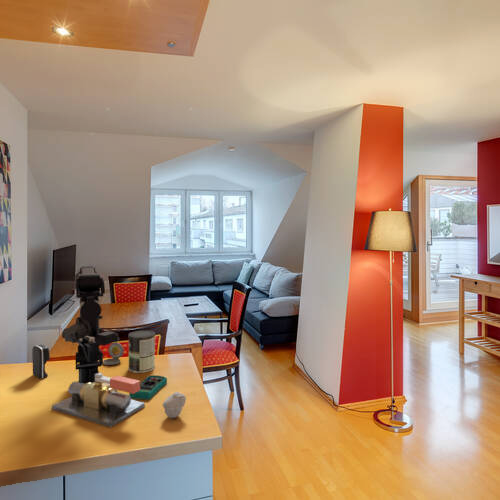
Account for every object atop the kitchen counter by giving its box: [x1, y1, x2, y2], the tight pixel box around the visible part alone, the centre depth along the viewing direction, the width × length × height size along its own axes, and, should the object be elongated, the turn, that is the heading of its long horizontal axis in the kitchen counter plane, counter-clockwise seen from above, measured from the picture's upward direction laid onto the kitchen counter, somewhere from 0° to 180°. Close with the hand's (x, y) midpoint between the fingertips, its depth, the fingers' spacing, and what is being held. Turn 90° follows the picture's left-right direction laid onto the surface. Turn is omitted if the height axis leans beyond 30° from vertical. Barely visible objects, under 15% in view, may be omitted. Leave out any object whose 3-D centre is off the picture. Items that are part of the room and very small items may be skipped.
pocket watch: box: [103, 337, 125, 366], centre depth 155 cm, size 8×8×10 cm
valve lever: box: [95, 372, 141, 394], centre depth 112 cm, size 16×3×3 cm, turn 66°
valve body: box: [51, 381, 146, 428], centre depth 115 cm, size 24×14×8 cm, turn 65°
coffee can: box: [128, 329, 156, 374], centre depth 149 cm, size 10×10×14 cm
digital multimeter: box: [128, 374, 168, 400], centre depth 129 cm, size 7×15×3 cm, turn 169°
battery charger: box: [31, 344, 51, 379], centre depth 140 cm, size 7×4×11 cm, turn 52°
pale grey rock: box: [162, 391, 187, 419], centre depth 110 cm, size 6×7×7 cm
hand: (89, 361), depth 119 cm, fingers closed
